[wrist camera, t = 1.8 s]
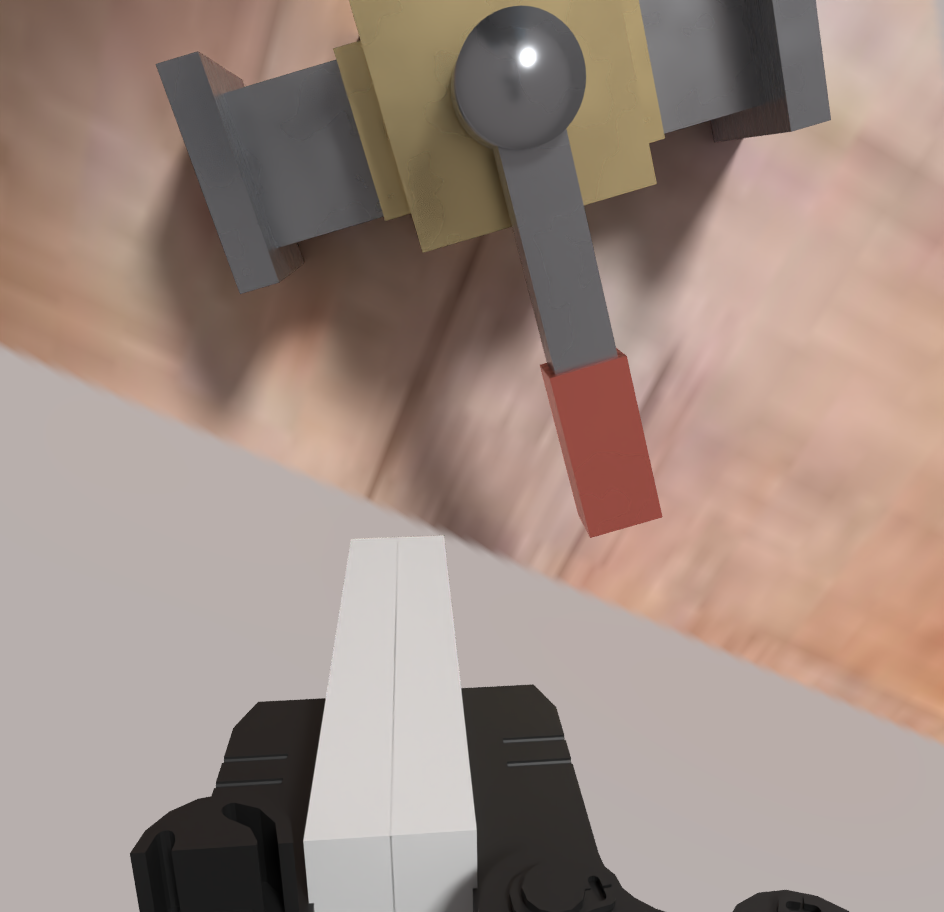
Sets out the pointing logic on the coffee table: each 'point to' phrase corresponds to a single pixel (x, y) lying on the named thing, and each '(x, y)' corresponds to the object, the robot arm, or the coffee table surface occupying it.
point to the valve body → (440, 133)
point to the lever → (558, 253)
